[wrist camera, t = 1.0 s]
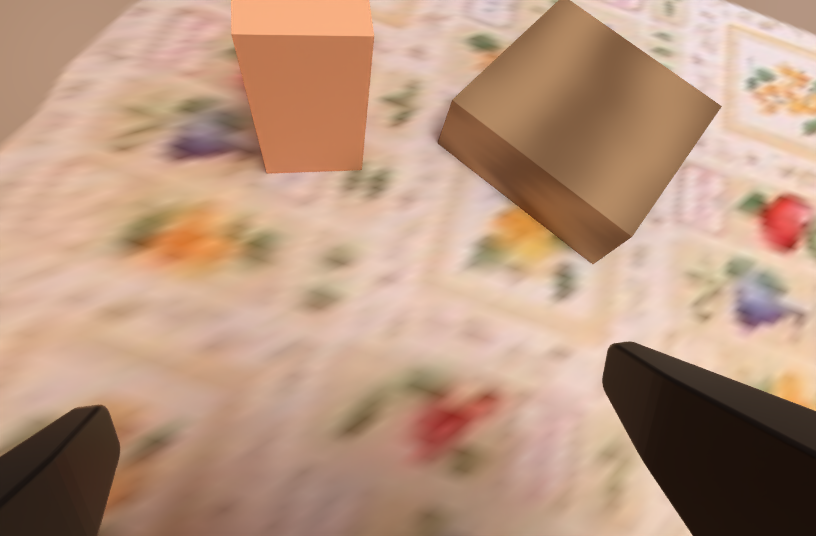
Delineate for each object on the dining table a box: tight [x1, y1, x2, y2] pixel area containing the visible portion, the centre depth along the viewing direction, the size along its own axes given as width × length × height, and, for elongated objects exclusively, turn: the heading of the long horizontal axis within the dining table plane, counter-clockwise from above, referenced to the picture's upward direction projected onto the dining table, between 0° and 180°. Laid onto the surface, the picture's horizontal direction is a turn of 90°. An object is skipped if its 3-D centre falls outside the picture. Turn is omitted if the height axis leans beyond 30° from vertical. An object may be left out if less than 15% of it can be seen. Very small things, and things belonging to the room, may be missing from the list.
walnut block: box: [438, 0, 722, 264], centre depth 27 cm, size 11×11×4 cm
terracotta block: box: [231, 0, 374, 173], centre depth 22 cm, size 5×5×9 cm
